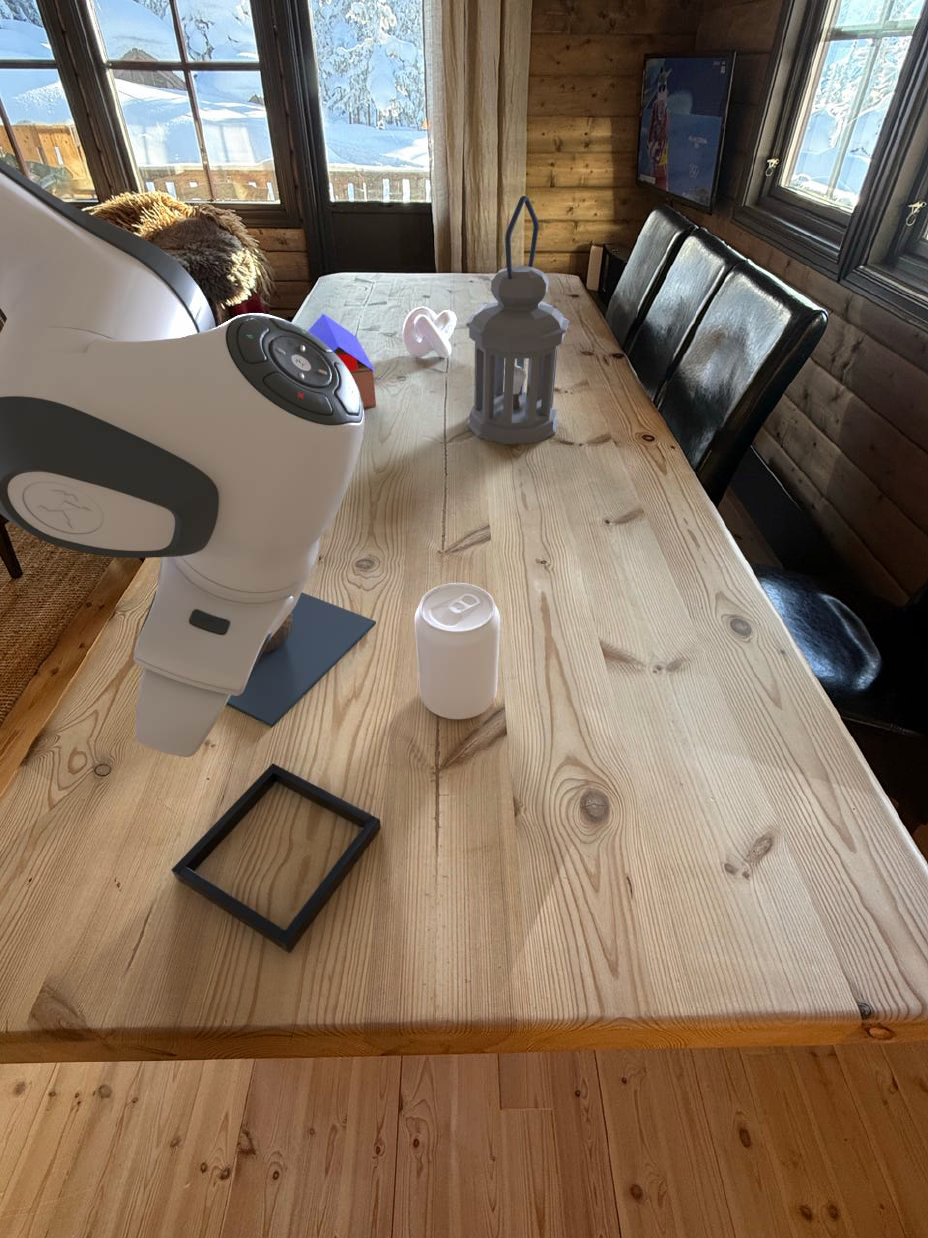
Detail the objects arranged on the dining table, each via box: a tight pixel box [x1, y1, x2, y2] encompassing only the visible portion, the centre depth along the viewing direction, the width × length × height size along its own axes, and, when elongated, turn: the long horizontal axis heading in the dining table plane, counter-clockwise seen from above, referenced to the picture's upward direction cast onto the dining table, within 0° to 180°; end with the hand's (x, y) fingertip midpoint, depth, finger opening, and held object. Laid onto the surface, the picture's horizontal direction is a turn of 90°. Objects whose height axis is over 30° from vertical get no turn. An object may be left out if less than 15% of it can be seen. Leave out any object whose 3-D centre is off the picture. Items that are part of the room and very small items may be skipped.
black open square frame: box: [171, 762, 382, 954], centre depth 55 cm, size 12×12×2 cm
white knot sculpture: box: [402, 306, 457, 359], centre depth 142 cm, size 11×12×9 cm
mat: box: [226, 591, 377, 728], centre depth 75 cm, size 18×18×1 cm
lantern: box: [465, 195, 570, 446], centre depth 107 cm, size 17×17×35 cm
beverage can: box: [414, 582, 501, 720], centre depth 65 cm, size 8×8×12 cm
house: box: [307, 313, 377, 409], centre depth 127 cm, size 12×20×12 cm, turn 17°
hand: (205, 667), depth 53 cm, fingers open, 8 cm apart
